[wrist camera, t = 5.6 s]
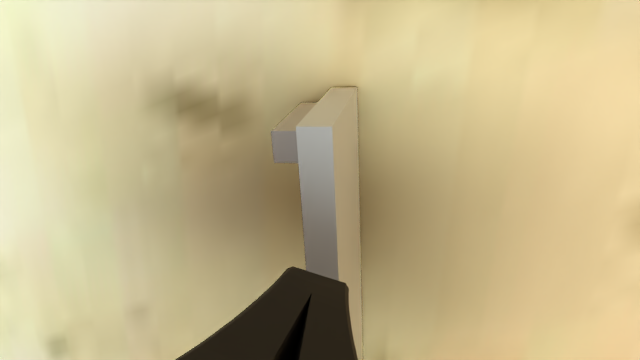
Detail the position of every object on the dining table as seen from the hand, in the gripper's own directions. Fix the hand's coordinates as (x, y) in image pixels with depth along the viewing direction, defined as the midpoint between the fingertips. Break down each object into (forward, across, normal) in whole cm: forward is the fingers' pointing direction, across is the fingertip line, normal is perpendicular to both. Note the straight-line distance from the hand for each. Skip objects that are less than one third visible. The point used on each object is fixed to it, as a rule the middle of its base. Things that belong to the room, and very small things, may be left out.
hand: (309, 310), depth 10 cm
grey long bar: (+6, -1, +3) cm, 6 cm away
